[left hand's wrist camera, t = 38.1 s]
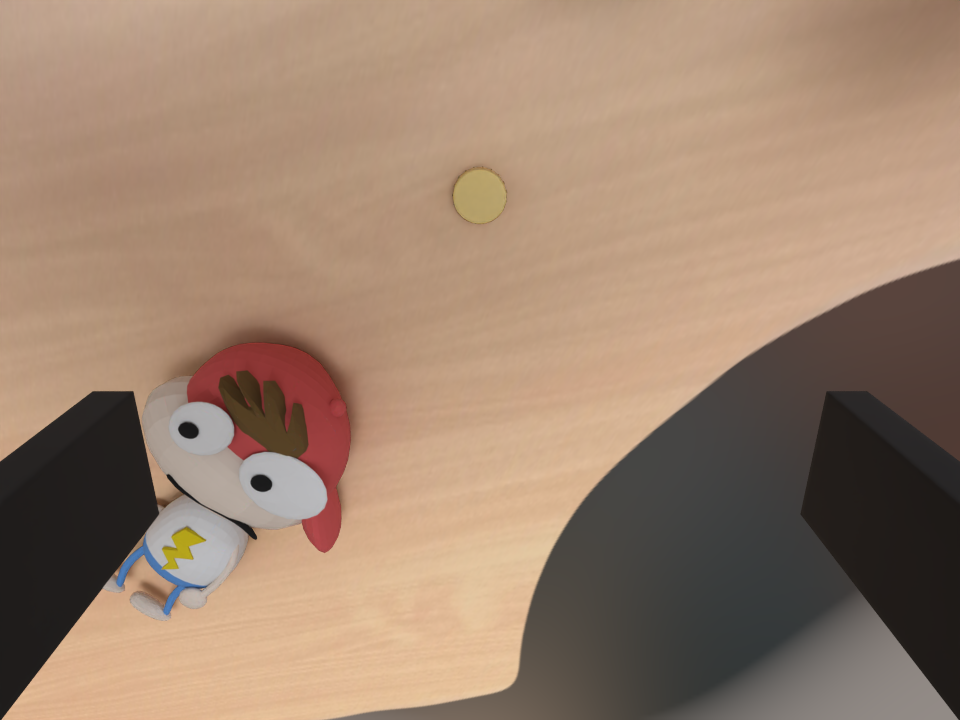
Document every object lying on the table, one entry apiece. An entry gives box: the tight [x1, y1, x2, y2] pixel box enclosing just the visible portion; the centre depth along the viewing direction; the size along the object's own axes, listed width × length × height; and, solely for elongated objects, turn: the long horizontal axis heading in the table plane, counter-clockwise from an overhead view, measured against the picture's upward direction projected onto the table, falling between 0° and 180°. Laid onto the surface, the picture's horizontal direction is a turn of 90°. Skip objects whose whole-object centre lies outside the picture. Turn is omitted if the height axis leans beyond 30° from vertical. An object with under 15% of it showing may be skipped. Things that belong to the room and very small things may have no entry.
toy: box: [102, 343, 351, 621], centre depth 53 cm, size 18×10×30 cm
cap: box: [452, 167, 507, 224], centre depth 47 cm, size 4×4×2 cm
